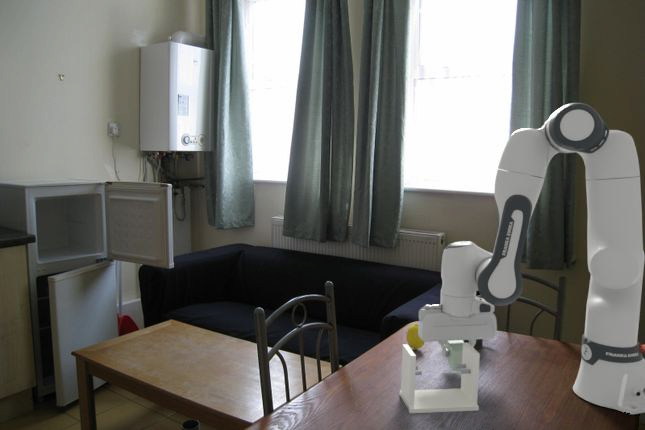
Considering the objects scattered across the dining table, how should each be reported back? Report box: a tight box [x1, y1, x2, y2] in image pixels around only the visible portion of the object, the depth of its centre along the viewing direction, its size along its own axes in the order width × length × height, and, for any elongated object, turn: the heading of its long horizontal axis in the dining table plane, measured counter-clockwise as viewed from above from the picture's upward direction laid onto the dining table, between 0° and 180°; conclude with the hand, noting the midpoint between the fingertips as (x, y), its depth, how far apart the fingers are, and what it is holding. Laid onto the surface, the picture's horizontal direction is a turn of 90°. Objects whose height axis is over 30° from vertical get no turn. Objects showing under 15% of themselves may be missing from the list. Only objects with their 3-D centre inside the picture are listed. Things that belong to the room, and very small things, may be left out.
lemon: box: [406, 323, 425, 351], centre depth 151 cm, size 6×6×8 cm
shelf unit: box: [399, 343, 481, 414], centre depth 119 cm, size 16×9×13 cm, turn 96°
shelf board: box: [444, 340, 464, 372], centre depth 133 cm, size 12×4×5 cm, turn 176°
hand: (456, 355), depth 134 cm, fingers closed on shelf board, 4 cm apart
